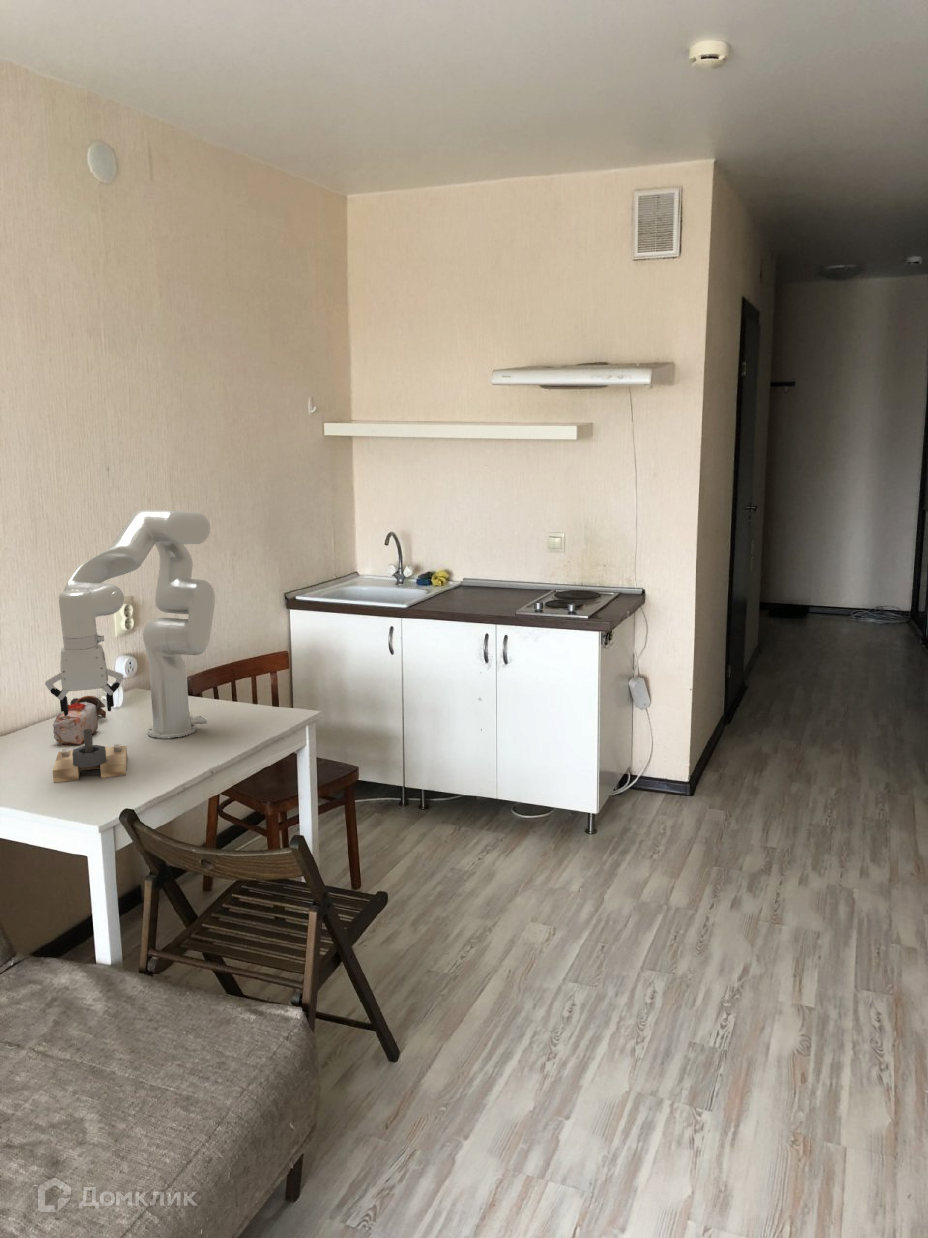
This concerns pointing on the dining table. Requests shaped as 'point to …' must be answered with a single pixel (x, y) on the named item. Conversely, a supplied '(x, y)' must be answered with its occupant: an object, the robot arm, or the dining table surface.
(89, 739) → the toggle switch panel
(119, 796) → the dining table surface
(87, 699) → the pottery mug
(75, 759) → the faceted grey ring
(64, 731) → the food item
